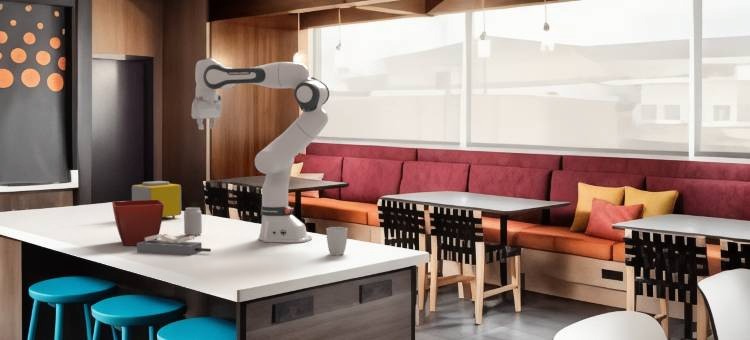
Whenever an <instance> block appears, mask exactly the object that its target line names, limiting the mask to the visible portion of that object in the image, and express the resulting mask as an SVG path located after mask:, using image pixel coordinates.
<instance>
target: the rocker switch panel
mask: <svg viewBox="0 0 750 340" xmlns="http://www.w3.org/2000/svg"><path fill="white" fill-rule="evenodd" d="M202 244H203V243H202V242H199V241H198V242H197V241H185V242H181V243H177V242H175V243H171V242H169V241H166V240H163V239H157V240H150V241H146V242H145V241H143V242H139V243H137V245H136V253H143V254H144V253H145V254H146V253H147V254H162V255H179V256H181V255H182V256H192V255H196V254H198V253H201V252H206V253H207V252H208V253H209V252H211V251H212V249H211V248H206V247H202Z"/></svg>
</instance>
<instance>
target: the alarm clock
mask: <svg viewBox="0 0 750 340" xmlns="http://www.w3.org/2000/svg"><path fill="white" fill-rule="evenodd" d="M137 200H160V201H161V202H162V203H163V204H164V209H163V216H162V218H166V217H172V219H173V218H174V219H175V217H176V216H181V215H182V186H181V184H179V183H178V184H176V183H170V181H168V180H167V181H166V180H165V181H163V180H155V181H143V182H142V183H141V184H133V185H132V186H131V201H137Z"/></svg>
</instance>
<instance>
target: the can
mask: <svg viewBox="0 0 750 340" xmlns="http://www.w3.org/2000/svg"><path fill="white" fill-rule="evenodd" d="M202 216H203V215H202V210H201V207H197V206H196V207H193V206H192V207H191V206H190V207H185V209H184V211H183V224H184V226H183V229H184V235H185V236H187V235H188V236H187V237H189V236H193V237H198V236H200V235H201V234H202V233H203V224H202V223H203V222H202V221H203V220H202ZM197 235H198V236H197Z"/></svg>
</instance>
